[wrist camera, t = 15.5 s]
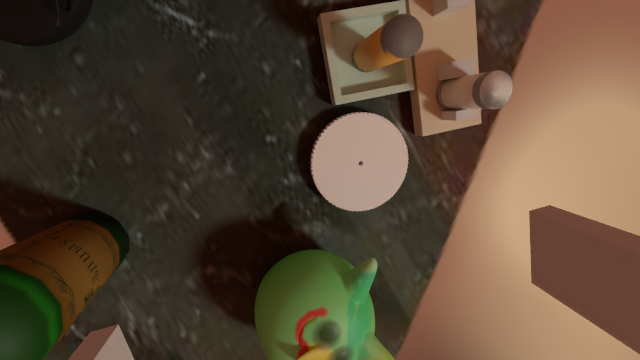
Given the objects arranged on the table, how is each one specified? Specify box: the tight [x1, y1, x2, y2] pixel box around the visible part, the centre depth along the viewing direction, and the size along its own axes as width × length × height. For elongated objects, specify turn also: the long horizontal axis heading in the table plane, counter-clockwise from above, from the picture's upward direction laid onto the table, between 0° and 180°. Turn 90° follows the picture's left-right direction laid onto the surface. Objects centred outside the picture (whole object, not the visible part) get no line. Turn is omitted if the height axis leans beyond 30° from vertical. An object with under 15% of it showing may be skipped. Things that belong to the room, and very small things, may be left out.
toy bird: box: [254, 249, 395, 360], centre depth 41 cm, size 18×17×15 cm
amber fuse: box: [352, 14, 423, 73], centre depth 35 cm, size 4×4×12 cm
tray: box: [317, 0, 414, 105], centre depth 41 cm, size 11×11×2 cm
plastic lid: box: [310, 112, 409, 212], centre depth 44 cm, size 14×14×2 cm
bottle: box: [0, 213, 129, 360], centre depth 28 cm, size 11×11×28 cm
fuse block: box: [405, 0, 513, 136], centre depth 37 cm, size 24×9×12 cm, turn 11°
